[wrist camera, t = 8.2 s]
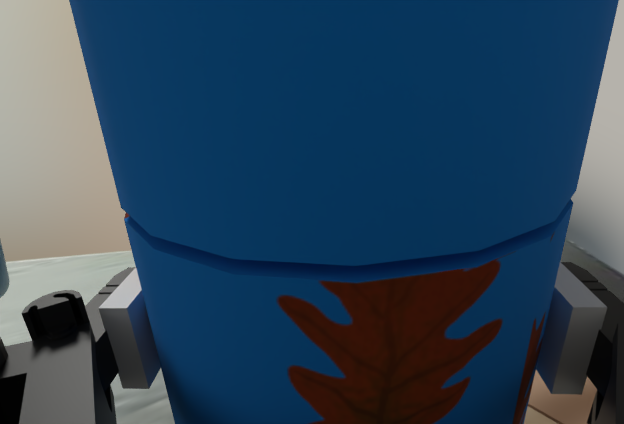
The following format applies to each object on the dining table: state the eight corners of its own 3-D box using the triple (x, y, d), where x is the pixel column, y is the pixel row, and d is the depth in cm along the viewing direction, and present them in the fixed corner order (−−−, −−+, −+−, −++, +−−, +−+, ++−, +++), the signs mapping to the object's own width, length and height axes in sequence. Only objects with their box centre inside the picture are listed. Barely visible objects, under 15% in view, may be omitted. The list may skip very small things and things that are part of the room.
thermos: (246, 434, 22) (162, -103, 13) (435, 431, 22) (493, -124, 13) (187, 747, 12) (-391, -642, 3) (532, 749, 12) (1194, -816, 2)
